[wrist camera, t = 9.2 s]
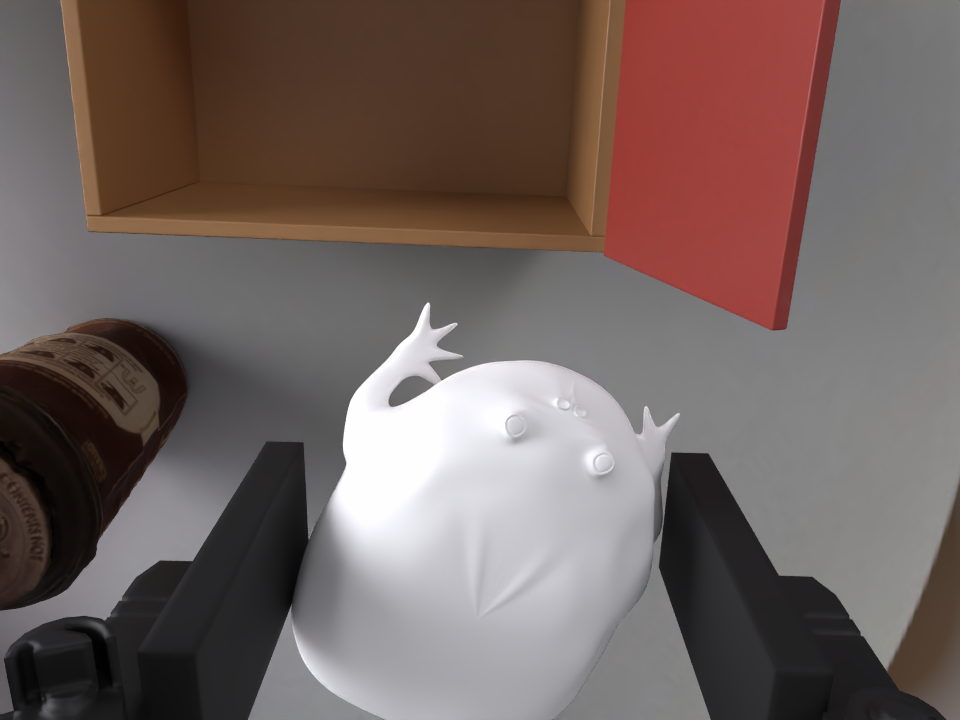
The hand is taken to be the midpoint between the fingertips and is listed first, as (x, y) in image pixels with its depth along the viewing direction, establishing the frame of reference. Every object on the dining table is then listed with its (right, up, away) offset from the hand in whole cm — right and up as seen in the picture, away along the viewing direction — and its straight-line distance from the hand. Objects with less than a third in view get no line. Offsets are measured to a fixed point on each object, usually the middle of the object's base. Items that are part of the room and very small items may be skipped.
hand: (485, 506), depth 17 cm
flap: (+5, +11, +2) cm, 12 cm away
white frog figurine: (0, 0, 0) cm, 0 cm away
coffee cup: (-16, +2, +20) cm, 26 cm away
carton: (-4, +16, +15) cm, 22 cm away
